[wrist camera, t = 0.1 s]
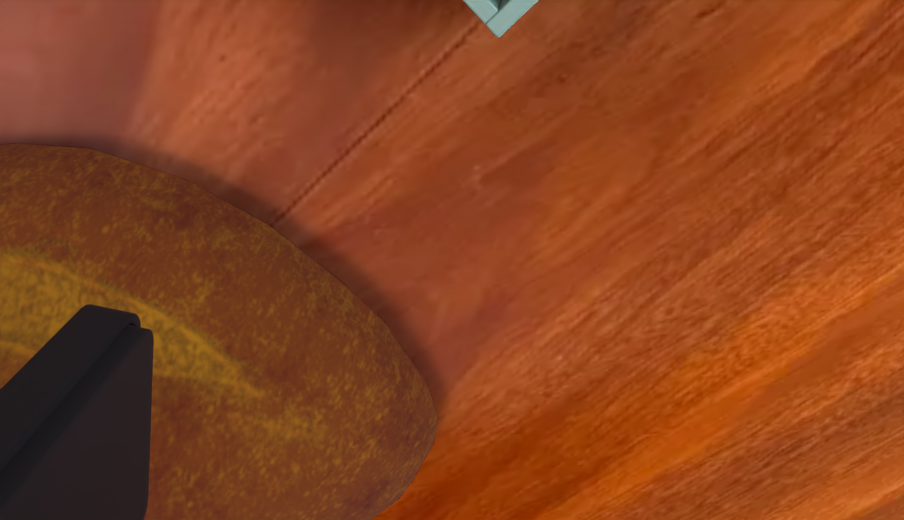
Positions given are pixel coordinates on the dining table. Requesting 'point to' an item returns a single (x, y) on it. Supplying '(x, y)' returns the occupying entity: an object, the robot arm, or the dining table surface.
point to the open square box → (499, 12)
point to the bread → (214, 340)
